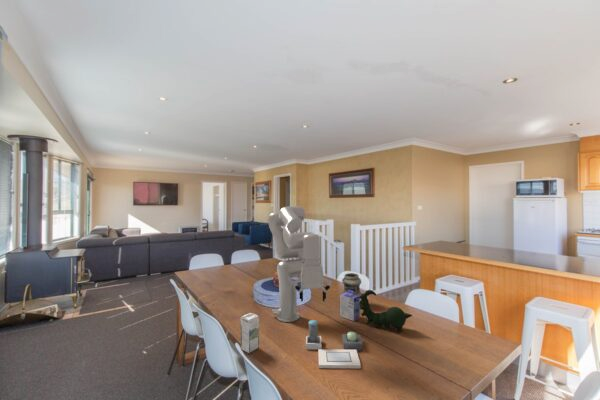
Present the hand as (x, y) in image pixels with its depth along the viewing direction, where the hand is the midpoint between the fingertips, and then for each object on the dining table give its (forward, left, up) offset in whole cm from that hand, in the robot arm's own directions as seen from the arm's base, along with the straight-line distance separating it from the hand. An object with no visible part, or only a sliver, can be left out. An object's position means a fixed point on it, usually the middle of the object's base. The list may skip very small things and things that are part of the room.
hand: (312, 300), depth 121 cm
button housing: (+17, 0, -20) cm, 26 cm away
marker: (0, 0, -20) cm, 20 cm away
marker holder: (0, 0, -20) cm, 20 cm away
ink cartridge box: (+20, +29, -20) cm, 41 cm away
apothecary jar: (+24, +49, -20) cm, 58 cm away
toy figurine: (+36, +17, -20) cm, 45 cm away
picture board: (+10, -11, -20) cm, 25 cm away
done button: (+17, 0, -18) cm, 25 cm away
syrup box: (-28, -3, -20) cm, 35 cm away
